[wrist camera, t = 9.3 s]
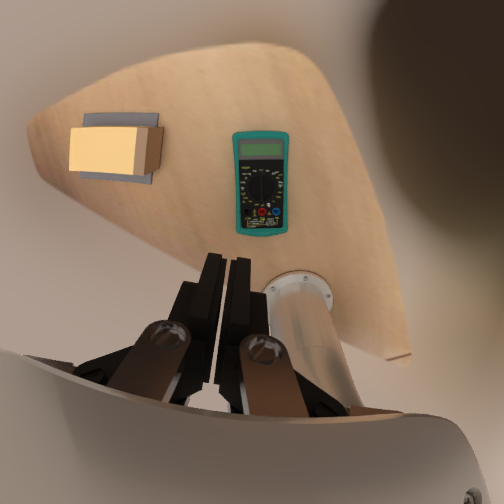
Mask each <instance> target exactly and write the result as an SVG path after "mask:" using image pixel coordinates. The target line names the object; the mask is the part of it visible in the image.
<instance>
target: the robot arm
mask: <svg viewBox="0 0 504 504" xmlns="http://www.w3.org/2000/svg"><path fill="white" fill-rule="evenodd" d="M226 263H227V259H224V258H222V255H221V254H215V253H208V255H207V258H206V261H205V264H204V267H203V270H202V273H201V276H200V280H199V283H193V282H188V281H184V282H183V283H182V285H181V288H180V290H179V293H178V295H177V297H176V300H175V302H174V305H173V307H172V310H171V312H170V315H169V318H168V320H159V321H155V322H153V323H151V324H149V325H148V326H147V327H146V328H145V330H144V331H143V333H142V334H141V335H140V337H139V338H138V340H137V341H136V342H135V344H134V345H133V346H130V347H127V348H124V349H122V350H119V351H116V352H113V353H110V354H108V355H105V356H102V357H99V358H96V359H93V360H90V361H87V362H85V363H83V364H81V365H79V366H78V367H75V366H74V364H73V363H70V362H63V361H56V360H51V359H46V358H40V357H34V356H30V355H20V354H17V353H14V352H11V351H7V350H2V349H0V504H491V501H490V498H489V494H488V490H487V487H486V483H485V480H484V477H483V474H482V471H481V469H480V466H479V464H478V461H477V458H476V456H475V454H474V451H473V449H472V447H471V445H470V444H469V441H468V440H467V438H466V436H465V435H464V433H463V432H462V430H461V429H460V428H459V427H458V426H457V425H456V424H455V423H454V422H452V421H450V420H448V419H446V418H443V417H439V416H434V415H429V414H418V413H403V412H399V411H394V410H383V409H375V408H367V407H364V405H363V403H362V401H361V399H360V397H359V395H358V392H357V390H356V388H355V385H354V382H353V380H352V377H351V374H350V371H349V368H348V365H347V362H346V359H345V356H344V353H343V350H342V347H341V344H340V341H339V338H338V335H337V332H336V330H335V327H334V324H333V321H332V318H331V315H330V311H331V308H332V305H333V295H332V291H331V289H330V287H329V285H328V283H327V282H326V281H325V280H324V279H323V278H321V277H320V276H318V275H316V274H314V273H311V272H306V271H294V272H288V273H285V274H282V275H280V276H278V277H276V278H275V279H274V280H272V281H271V282H270V283H269V284H268V285H267V286H266V287H265V289H264V290H263V292H262V293H259V292H252V291H250V275H251V259H247V258H241V257H237V260H231V265H230V271H229V277H228V284H227V290H226V297H225V303H224V311H223V317H222V324H221V331H220V339H219V346H218V354H217V361H216V369H215V378H214V384H218V385H220V386H219V393H220V394H221V395H222V396H223V397H224V398H225V399H226V400H227V401H228V413H226V412H218V411H211V410H205V409H198V408H193V407H187V406H188V403H189V400H190V395H192V394H194V393H196V392H198V391H200V390H202V385H203V382H205V383H209V379H210V371H211V365H212V359H213V352H214V346H215V340H216V333H217V327H218V321H219V314H220V307H221V299H222V292H223V284H224V277H225V270H226ZM269 326H270V328H271V336H269Z"/></svg>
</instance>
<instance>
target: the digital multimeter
mask: <svg viewBox="0 0 504 504" xmlns="http://www.w3.org/2000/svg"><path fill="white" fill-rule="evenodd" d="M288 144H289V135H288V134H287V133H285V132H276V131H248V132H238V133H234V134H233V149H234V161H235V179H236V231H237V233H239V234H244V235H249V236H257V237H265V236H272V235H278V234H282V233H286V232H287V230H288V225H287V165H288ZM273 195H274V196H273ZM240 215H241V217H240ZM259 228H264V229H259Z"/></svg>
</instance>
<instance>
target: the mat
mask: <svg viewBox="0 0 504 504" xmlns="http://www.w3.org/2000/svg"><path fill="white" fill-rule="evenodd" d="M158 118H159V113H92V114H84V119H83V127H87V126H147V127H157V126H158ZM152 173H153V172H151V173H148V174H146V175H144V176H140V175H129V174H117V173H104V172H88V171H80V178H87V179H100V180H112V181H124V182H134V183H144V184H152Z"/></svg>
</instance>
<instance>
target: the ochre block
mask: <svg viewBox="0 0 504 504" xmlns="http://www.w3.org/2000/svg"><path fill="white" fill-rule="evenodd" d="M163 129H164V127H147V126H87V127H76V128H71V138H70V159H69V171H88V172H104V173H117V174H129V175H140V176H144V175H146V174H148V173H151V172H153V171H155V170H157V169H159V164H160V154H161V145H162V137H163Z"/></svg>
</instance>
